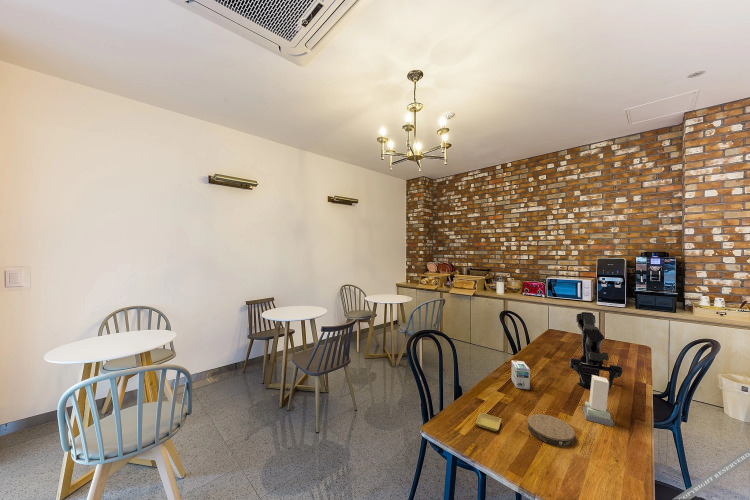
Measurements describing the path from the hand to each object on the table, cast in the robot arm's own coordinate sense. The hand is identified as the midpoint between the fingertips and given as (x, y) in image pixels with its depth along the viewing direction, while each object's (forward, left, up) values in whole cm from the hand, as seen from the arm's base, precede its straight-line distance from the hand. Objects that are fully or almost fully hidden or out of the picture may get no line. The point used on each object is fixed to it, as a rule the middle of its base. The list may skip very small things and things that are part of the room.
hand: (596, 385), depth 126 cm
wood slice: (+30, +8, -13) cm, 34 cm away
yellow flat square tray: (+51, -1, -13) cm, 53 cm away
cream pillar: (+2, +2, -8) cm, 9 cm away
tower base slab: (+2, +3, -13) cm, 14 cm away
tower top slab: (+2, +2, -11) cm, 11 cm away
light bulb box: (+14, -30, -13) cm, 36 cm away
